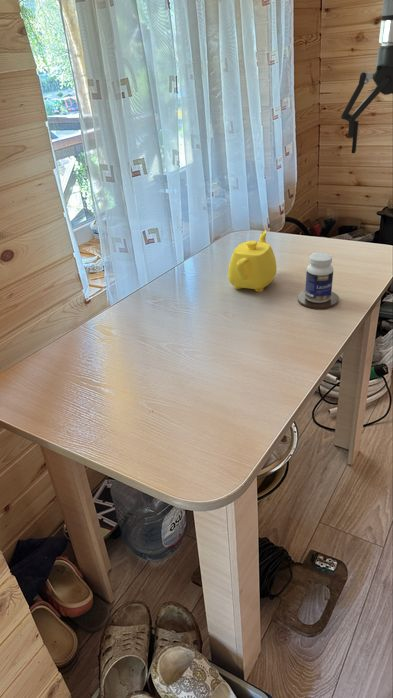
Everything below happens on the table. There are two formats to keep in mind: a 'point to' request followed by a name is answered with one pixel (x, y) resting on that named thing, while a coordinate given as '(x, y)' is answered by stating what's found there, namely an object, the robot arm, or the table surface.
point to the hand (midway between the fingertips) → (384, 152)
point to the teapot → (252, 265)
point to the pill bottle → (319, 278)
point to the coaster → (312, 305)
